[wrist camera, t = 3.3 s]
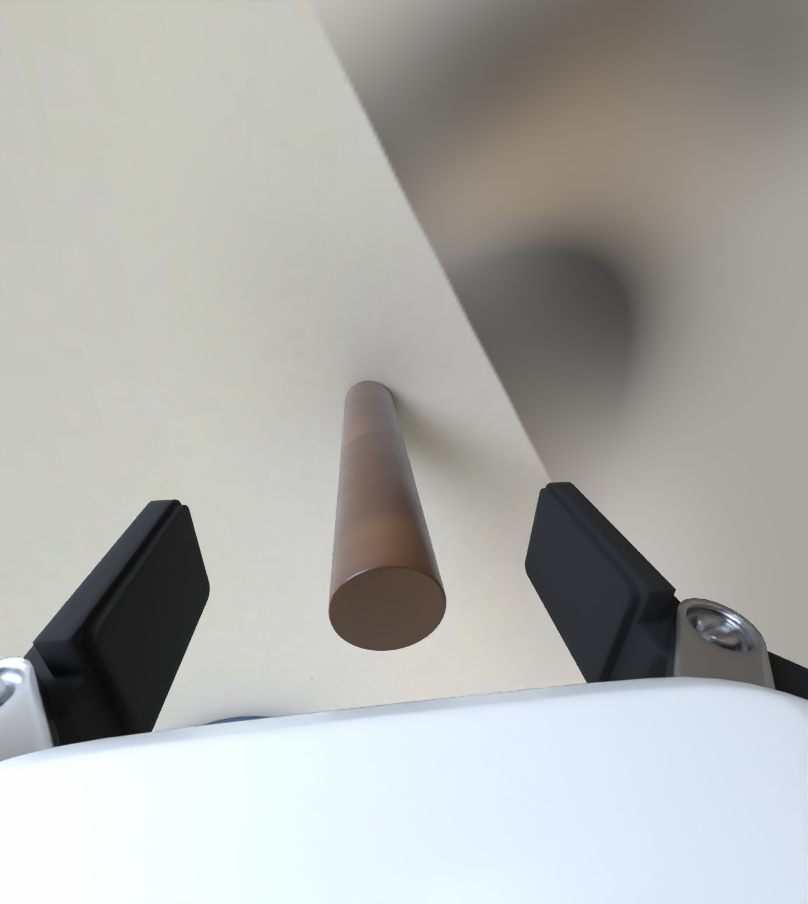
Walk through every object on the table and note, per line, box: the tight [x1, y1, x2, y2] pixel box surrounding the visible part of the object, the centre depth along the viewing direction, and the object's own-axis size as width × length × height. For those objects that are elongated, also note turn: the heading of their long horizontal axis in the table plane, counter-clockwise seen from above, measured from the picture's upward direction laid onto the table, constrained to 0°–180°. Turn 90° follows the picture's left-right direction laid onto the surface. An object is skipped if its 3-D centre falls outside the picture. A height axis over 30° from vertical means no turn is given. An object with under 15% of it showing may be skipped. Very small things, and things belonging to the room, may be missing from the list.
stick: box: [329, 381, 446, 651], centre depth 15 cm, size 3×3×14 cm
